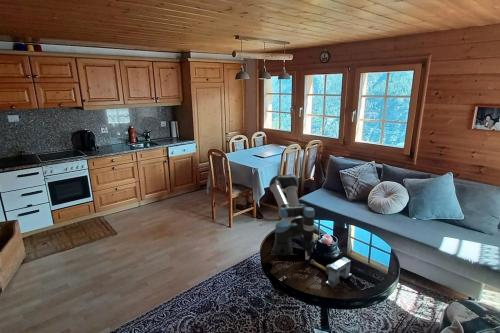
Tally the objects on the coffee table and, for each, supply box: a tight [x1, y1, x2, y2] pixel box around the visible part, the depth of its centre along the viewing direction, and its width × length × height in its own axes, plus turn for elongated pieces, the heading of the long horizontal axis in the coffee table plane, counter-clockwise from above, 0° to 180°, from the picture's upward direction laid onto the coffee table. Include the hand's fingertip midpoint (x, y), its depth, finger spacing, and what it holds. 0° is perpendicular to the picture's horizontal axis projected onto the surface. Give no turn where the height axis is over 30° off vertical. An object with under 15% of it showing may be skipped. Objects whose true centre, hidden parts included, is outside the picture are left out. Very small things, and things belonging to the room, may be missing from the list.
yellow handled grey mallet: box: [309, 258, 332, 276], centre depth 198 cm, size 19×4×6 cm, turn 38°
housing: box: [325, 256, 352, 288], centre depth 187 cm, size 6×20×12 cm, turn 128°
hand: (307, 258), depth 208 cm, fingers closed
